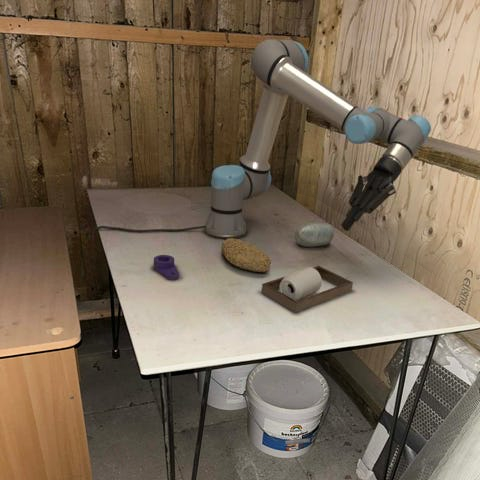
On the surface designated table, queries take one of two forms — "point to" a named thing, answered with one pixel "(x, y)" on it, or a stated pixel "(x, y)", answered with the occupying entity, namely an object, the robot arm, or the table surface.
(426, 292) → the table surface
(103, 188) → the table surface
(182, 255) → the table surface
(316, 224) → the streaked grey-green pebble
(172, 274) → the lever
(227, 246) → the sponge
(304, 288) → the can
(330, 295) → the walnut frame
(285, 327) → the table surface
